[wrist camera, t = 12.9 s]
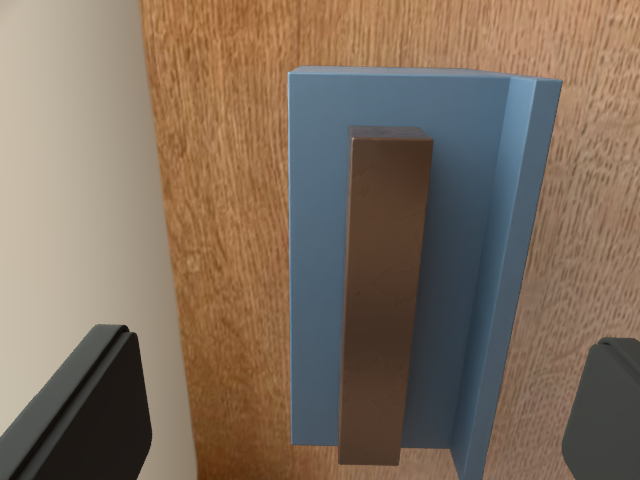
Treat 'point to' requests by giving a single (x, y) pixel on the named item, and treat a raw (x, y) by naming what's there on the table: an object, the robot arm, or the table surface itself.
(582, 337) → the table surface
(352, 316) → the stick
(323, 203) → the blue stepped block
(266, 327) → the table surface
